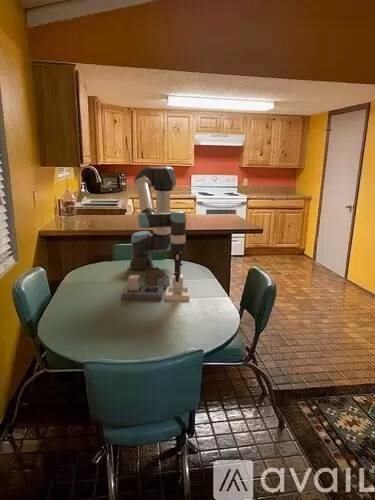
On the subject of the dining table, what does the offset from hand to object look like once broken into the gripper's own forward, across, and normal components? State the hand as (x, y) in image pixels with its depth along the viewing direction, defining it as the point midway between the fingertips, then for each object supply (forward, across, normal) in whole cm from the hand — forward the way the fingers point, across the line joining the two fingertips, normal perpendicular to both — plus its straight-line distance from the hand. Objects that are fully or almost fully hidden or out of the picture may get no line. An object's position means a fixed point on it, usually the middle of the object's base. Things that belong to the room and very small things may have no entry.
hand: (177, 282), depth 174 cm
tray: (+7, 0, 0) cm, 7 cm away
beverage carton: (+8, -19, -13) cm, 24 cm away
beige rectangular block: (+7, 0, -22) cm, 24 cm away
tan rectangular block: (+7, 0, 0) cm, 7 cm away
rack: (+7, 0, -18) cm, 19 cm away
